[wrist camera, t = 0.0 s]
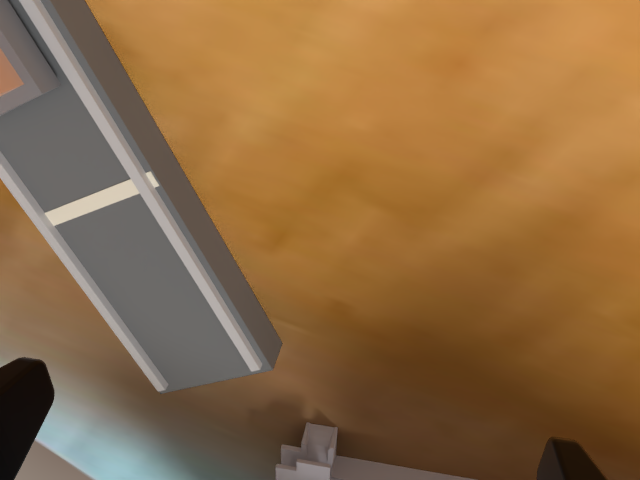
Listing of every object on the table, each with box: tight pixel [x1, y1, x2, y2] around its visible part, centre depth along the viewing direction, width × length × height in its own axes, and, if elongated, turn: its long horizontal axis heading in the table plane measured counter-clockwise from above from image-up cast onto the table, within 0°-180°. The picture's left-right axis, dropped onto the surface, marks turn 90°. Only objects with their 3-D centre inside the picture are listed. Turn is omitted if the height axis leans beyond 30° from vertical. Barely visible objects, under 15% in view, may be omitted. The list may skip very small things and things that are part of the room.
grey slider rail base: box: [0, 0, 282, 394], centre depth 25 cm, size 20×7×2 cm, turn 24°
